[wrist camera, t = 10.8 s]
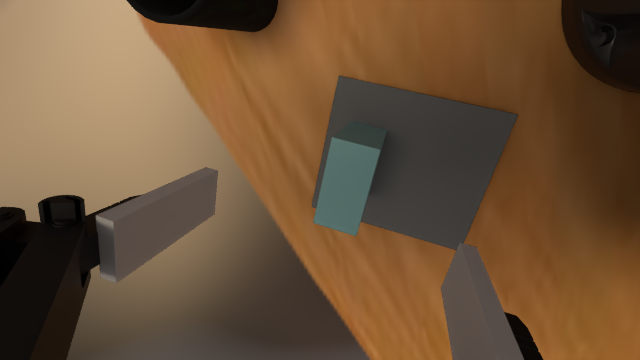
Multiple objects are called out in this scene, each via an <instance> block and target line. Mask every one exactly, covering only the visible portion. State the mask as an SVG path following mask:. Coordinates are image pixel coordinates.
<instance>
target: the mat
mask: <svg viewBox="0 0 640 360" xmlns="http://www.w3.org/2000/svg"><path fill="white" fill-rule="evenodd" d="M517 116H518V115H517V114H513V113H508V112H504V111H499V110H495V109H490V108H485V107H481V106H476V105H471V104H467V103H462V102H458V101H453V100H448V99H444V98H439V97H435V96H430V95H425V94H421V93H416V92H412V91H407V90H402V89H398V88H393V87H388V86H384V85H379V84H375V83H370V82H365V81H361V80H356V79H352V78H347V77H342V76H339V77H338V82H337V87H336V92H335V96H334V101H333V106H332V111H331V116H330V120H329V125H328V130H327V135H326V140H325V145H324V149H323V154H322V159H321V164H320V169H319V173H318V178H317V183H316V188H315V193H314V198H313V202H312V207H314V208H317V203H318V199H319V194H320V190H321V185H322V180H323V176H324V171H325V167H326V162H327V158H328V153H329V148H330V144H331V139H332V137H333V136H334V135H335V134H337V133H338V132H339V131H340V130H342V129H343V128H344V127H345V126H347V125H348V124H349V123H351V122H356V123H360V124H365V125H369V126H373V127H377V128H381V129H385V130H387V132H386V136H385V139H384V143H383V146H382V150H381V154H380V157H379V161H378V164H377V168H376V171H375V175H374V178H373V182H372V185H371V189H370V192H369V196H368V199H367V202H366V206H365V209H364V212H363V215H362V219H361V222H364V223H368V224H371V225H374V226H378V227H381V228H384V229H388V230H391V231H394V232H398V233H401V234H404V235H408V236H411V237H414V238H418V239H421V240H424V241H428V242H431V243H434V244H438V245H441V246H444V247H448V248H451V249H455V250H457V248H458V246H459V244H460V243H464V241H465V238H466V236H467V234H468V231H469V229H470V226H471V224H472V222H473V219H474V217H475V215H476V212H477V210H478V208H479V205H480V203H481V201H482V198H483V196H484V194H485V191H486V189H487V186H488V184H489V182H490V179H491V177H492V175H493V172H494V170H495V168H496V165H497V163H498V161H499V158H500V156H501V154H502V151H503V149H504V146H505V144H506V142H507V139H508V137H509V135H510V132H511V130H512V128H513V125H514V123H515V121H516V118H517Z"/></svg>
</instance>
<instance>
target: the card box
mask: <svg viewBox="0 0 640 360" xmlns="http://www.w3.org/2000/svg"><path fill="white" fill-rule="evenodd" d="M386 132H387V130H385V129H381V128H377V127H373V126H369V125H365V124H360V123H356V122H351V123H349V124H348V125H347V126H345V127H344V128H343V129H342V130H340V131H339V132H338V133H337V134H335V135H334V136H333V137H332V139H331V144H330V148H329V153H328V158H327V162H326V167H325V171H324V176H323V180H322V185H321V190H320V194H319V199H318V203H317V208H316V212H315V217H314V221H313V223H316V224H319V225H322V226H325V227H328V228H332V229H335V230H338V231H341V232H344V233H348V234H351V235H354V236H356V235H357V232H358V229H359V225H360V222H361V219H362V215H363V212H364V209H365V206H366V202H367V199H368V196H369V192H370V189H371V185H372V182H373V178H374V175H375V171H376V168H377V164H378V161H379V157H380V154H381V150H382V146H383V143H384V139H385V136H386Z"/></svg>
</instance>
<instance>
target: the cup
mask: <svg viewBox="0 0 640 360" xmlns="http://www.w3.org/2000/svg"><path fill="white" fill-rule="evenodd" d="M127 1H128V2H129V3H130V5H131V6H132V7H133V8H134V9H135V10H136V11H137V12H139V13H140V14H141V15H143V16H144V17H145V18H148V19H150V20H153V21H155V22H158V23H166V24H177V25H187V26H197V27H207V28H217V29H227V30H237V31H247V32H256V31H260V30H262V29H263V28H265V27H266V26H267V25H268V24H269V23H270V22H271V21H272V19H273V18H274V15H275V13H276V10H277V4H278V0H127Z"/></svg>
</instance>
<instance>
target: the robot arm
mask: <svg viewBox="0 0 640 360" xmlns="http://www.w3.org/2000/svg"><path fill="white" fill-rule="evenodd" d="M562 23H563V29H564V33H565V37H566V40H567V43H568V45H569V47H570V49H571V51H572V53H573V55H574V56H575V58H576V59H577V61H578V62H579V63H580V64H581V65H582V66H583V68H584V69H586V70H587V71H588V72H589V73H590V74H591V75H593V76H594V77H596V78H597V79H599V80H600V81H602V82H604V83H606V84H608V85H611V86H613V87H616V88H619V89H622V90H627V91H631V92H638V93H640V0H562ZM217 176H218V171H217V170H214V169H210V168H207V167H205V168H203V169H201V170H198V171H196V172H194V173H191V174H189V175H187V176H185V177H182V178H180V179H178V180H175V181H173V182H171V183H169V184H166V185H164V186H162V187H160V188H157V189H155V190H153V191H150V192H148V193H146V194H143V195H138V196H133V197H129V198H127V199H124V200H122V201H120V203H119V202H118V203H115V204H113V205H112V206H108V207H106V208H103V209H101V210H99V211H97V212H94V213H92V214H89V215H87V216H85V205H84V199H83V198H81V197H79V196H75V195H59V196H53V197H49V198H46V199H44V200H42V201H40V202H39V203H38V207H39V214H40V221H41V222H32V221H26V215H25V211H24V210H23V209H21V208H15V207H1V208H0V360H66V359H67V356H68V352H69V348H70V346H71V342H72V339H73V335H74V332H75V329H76V325H77V322H78V319H79V315H80V312H81V309H82V305H83V302H84V299H85V295H86V292H87V289H88V285H89V282H90V278H91V273H90V270H91V269H92V268H94V267H96V266H97V265H99V266H100V276H101V277H102V278H105V279H107V280H110V281H112V282H115V283H117V282H119V281H120V280H122V279H123V278H124V277H126V276H127V275H129V274H130V273H132V272H133V271H134V270H136V269H137V268H139V267H140V266H142V265H143V264H144V263H146V262H147V261H149V260H150V259H152V258H153V257H154V256H156V255H157V254H159V253H160V252H162V251H163V250H164V249H166V248H167V247H169V246H170V245H171V244H173V243H174V242H176V241H177V240H178V239H180V238H181V237H183V236H184V235H186V234H187V233H189V232H190V231H191V230H193V229H194V228H196V227H197V226H199V225H200V224H201V223H203V222H204V221H206V220H207V219H208V218H210V217H211V216H213V215H214V214H215V202H216V189H217ZM441 291H442V297H443V303H444V309H445V315H446V321H447V327H448V333H449V339H450V345H451V350H452V356H453V360H543V358H542V356H541V354H540V352H538V348H537V346H536V344H535V342H533V338H532V336H531V334H530V332H529V330H528V328H527V327H526V326H525V325H524V323H523V322H522V321H521V320H520V319H519V318H518V317H517V316H515V315H512V314H509V313H506V312H504V311H503V309H502V306H501V304H500V301H499V299H498V297H497V294H496V292H495V290H494V287H493V285H492V283H491V280H490V278H489V275H488V273H487V271H486V268H485V266H484V264H483V261H482V259H481V256H480V254H479V252H478V249H477V247H474V246H471V245H467V244H464V243H460V244H459V246H458V248H457V251H456V253H455V256H454V258H453V260H452V263H451V265H450V268H449V270H448V272H447V275H446V277H445V279H444V282H443V284H442V287H441Z"/></svg>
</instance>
